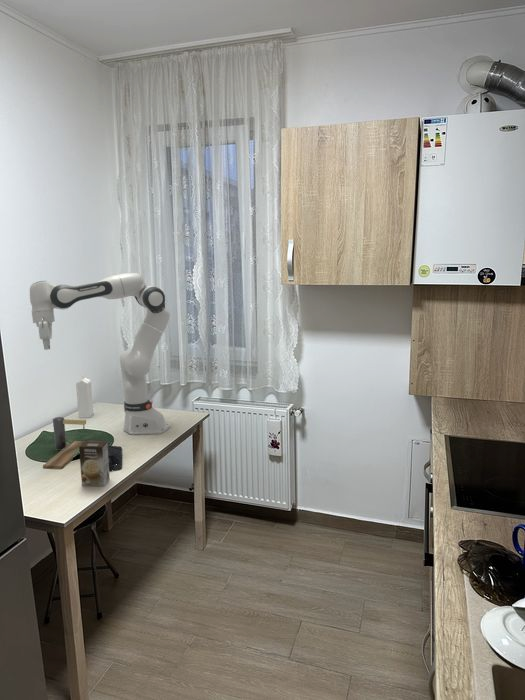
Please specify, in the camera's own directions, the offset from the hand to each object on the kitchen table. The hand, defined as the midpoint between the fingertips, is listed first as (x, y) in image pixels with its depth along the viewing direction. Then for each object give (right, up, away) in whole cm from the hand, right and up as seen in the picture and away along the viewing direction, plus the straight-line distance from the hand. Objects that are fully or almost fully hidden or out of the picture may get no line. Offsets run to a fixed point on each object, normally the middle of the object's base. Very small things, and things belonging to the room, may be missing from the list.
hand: (47, 349), depth 218 cm
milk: (0, -36, +47) cm, 59 cm away
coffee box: (+31, -51, -28) cm, 66 cm away
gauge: (+9, -45, +4) cm, 46 cm away
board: (+10, -46, -3) cm, 47 cm away
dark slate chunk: (+29, -48, -9) cm, 56 cm away
